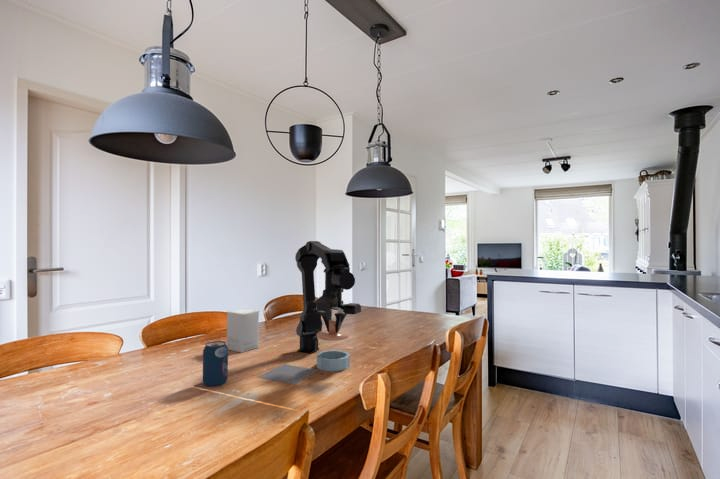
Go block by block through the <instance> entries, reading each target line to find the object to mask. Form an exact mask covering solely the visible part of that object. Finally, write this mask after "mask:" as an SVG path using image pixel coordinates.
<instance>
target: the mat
mask: <svg viewBox="0 0 720 479" xmlns="http://www.w3.org/2000/svg"><path fill="white" fill-rule="evenodd" d="M319 370H320V369H316V368H308V367H305V366H304V367H302V366H296V365H291V364H285V363H283V364H280V365H279V366H277V367H275V368H273V369H271V370H269V371H267V372H264V373H262V374H261V375H258V376H257V378H258V379H259V378H260V379H262V380H269V381H274V382H280V383H285V384H290V385H296V384H298V383H301V381H303V380H305V379H307V378H308V377H310V376H312V375H314V374H315V373H316V372H319Z"/></svg>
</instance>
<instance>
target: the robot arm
mask: <svg viewBox="0 0 720 479" xmlns="http://www.w3.org/2000/svg"><path fill="white" fill-rule="evenodd" d="M294 258H295V261H296V266H297V268H298V270H299V272H300V273H301V283H302V285H301V287H302V302H303V310H302V312H301V314H300V315H299V322H298V324H297V327H296V329H295V331H296V336H298V337H299V349H297V350H296V351H297V352H301V353H307V354H313V353H314V352H317V351H319V350H320V347H319V339H318V338H317V333H318V332H320V331H323V330H322V329H323V322H324V325H325V327H326V330H327V331H328V332H329V320H332V315H333V311H337V312H335V313H334V316H335V320H336V333H338V332H339V330H341V327H342V324H343V322H344V320H345V318H346V316H347V315H356V314H359V313H361V312H362V306H361V304H360V303H355V302H354V303H353V302H352V303H351V302H349V303H346V304H344V300H343V298H342V296H343V293H344V290H346V291H347V290H348V291H349V290H351V289H353V287H354V286H355V284H356V278H355V276H354V274H353V273H352V272H350V271H351V270H350V263H349V261H348V259H347V256H346V254H345V251H344V250H343V249H334V248H331V247H328V246H326V245H324V244H323V243H322V242H321V241H318V240H316V241H315V240H309V241H306V243H305V244H304V245H303V246H301V247H300V248H299V249H297V252H296V253H295V257H294ZM319 259H321V260H320V262H321V264H322V265H323V266H324V270H323V273H324V280H325V281H324V289H323V290H322V295H321V296H319V297H318V298H317V299H316V291H315V288H316V286H315V275H314V274H315V270H316V268H317V266H318V260H319ZM322 319H323V320H322Z"/></svg>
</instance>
